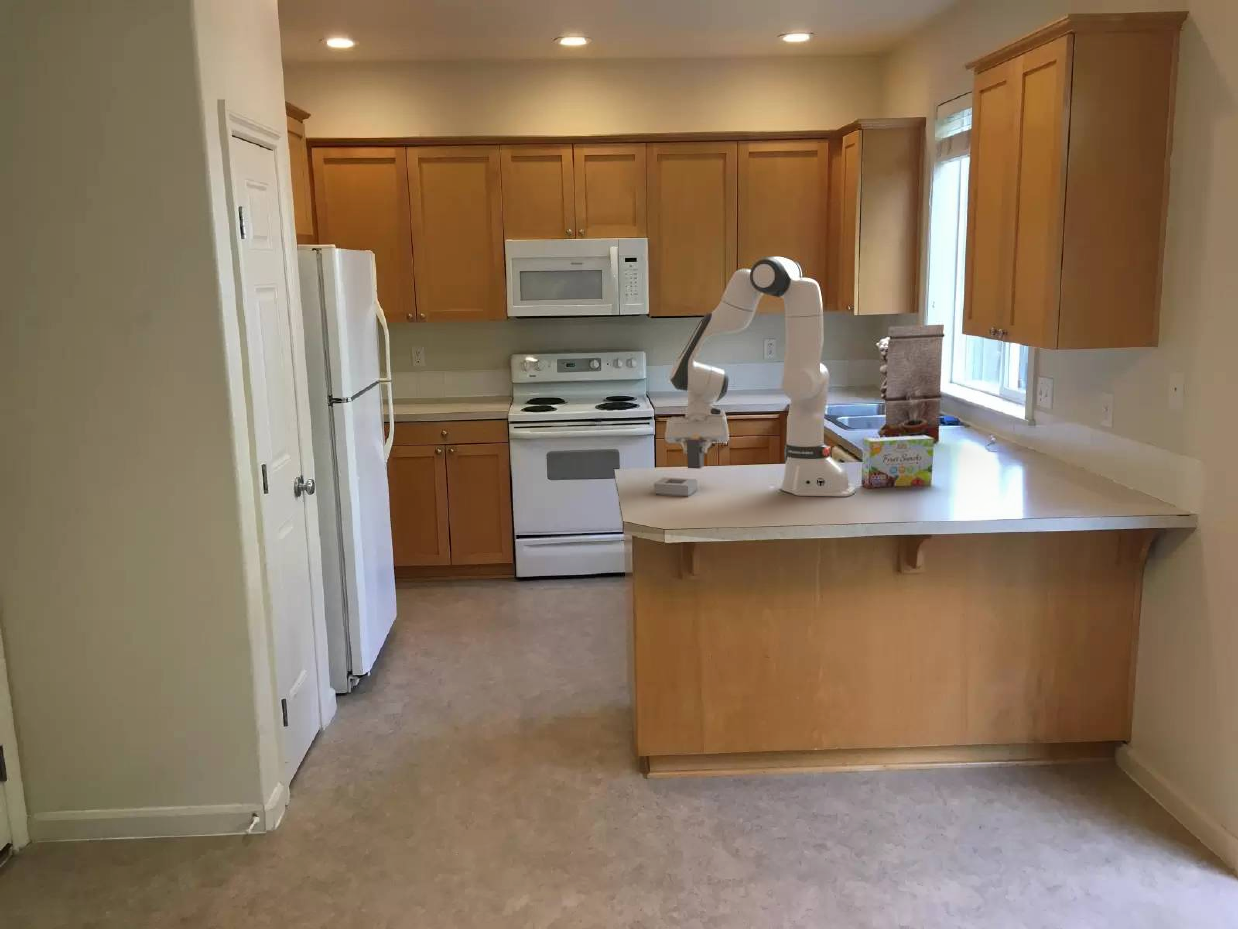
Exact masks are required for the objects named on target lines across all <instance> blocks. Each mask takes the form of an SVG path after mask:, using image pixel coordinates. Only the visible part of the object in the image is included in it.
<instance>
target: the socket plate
mask: <svg viewBox="0 0 1238 929" xmlns="http://www.w3.org/2000/svg"><path fill="white" fill-rule="evenodd" d="M697 491H698V479H696V478H693V479H692V478H679V477H661V478H660V479H659V480H657V481H655V482H654V483H653V495H654V494H661V495H660V496H667V495H669V497H681V496H687V497H686V498H689V497H690V496H692V495H693V494H695V493H697ZM688 496H689V497H688Z"/></svg>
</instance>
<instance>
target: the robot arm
mask: <svg viewBox="0 0 1238 929" xmlns="http://www.w3.org/2000/svg"><path fill="white" fill-rule="evenodd" d="M802 272H803V271H802V268H801V266H800V265H799V263H798V262H797V261H795V260H794V259H792V258H789V257H781V256H768V257H763V258H761V259H759V260H758V261H756V262H754V264H753V265H752V267H751V268H750V269H749V268H741V269H740V268H739V269H738V270H736V271H735V272H734V273H733V275H732V276H731V278H730V279H729V282H728V284H727V286H726V288H725V290H724V293H723V294H722V297H721V300H720V302H719V303H718V306H716V308H715V309H714V310H712V311H710V312H707V313H705V314H704V316H703V317H702V318H701V320H700V321H699V323H698V325H697V326H696V328H695V329H694V331H693V332H692V335H691V337H690V338H689V340H688V342H687V344H686V346H685V348H684V349H683V351H682V353H681V354H680V356H679V358H678V359H677V360H676V362H675V364H674V365H673V366H672V368H671V371H670V374H669V375H670V377H669V379H670V382H671V384H672V385H673V387H674V388H675V389H676V390H678V391H684V392H687V393H688V394H687V401H688V402H687V404H686V406H685V407H686V409H685V415H684V416H671V417H670V418H668V419H667V420H666V424H665V427H666V429H665V432H664V438H665V441H666V442H667V443H669V444H680V445H681V446H682V452H683V454H687V440H688V439H690V437H692V436H693V437H700V438H703V444H704V445H703V446H702V449H701V451H702V453H703V454H708V453H707V452H708V449H709V448H710V447H711V446H712V443H714V444H715V443H717V444H718V443H719V444H720V443H723V444H724V443H727V442H728V441H730V432H729V431H730V430H729V425H728V422H727V415H726V412H725V410H723V409H722V408H717V407H714V403H717V402H719V401H720V400H722V399H723V398H724V397H725V396H726V394H727V393H728V388H729V380H730V379H729V375H728V374H727V372H726V370H725V369H722V368H720V367H716V366H712V365H709V364H704V363H702V362H699V361H698V362H697V361H696V357H697V356H698V354H699V352H700V351H701V349H702V347H703V345H704V343H705V342H706V341H707V340H708V339H709V338H711V337H714V336H717V335H728V334H735V333H739V332H741V331H743V330H745V329H746V328H747V327H749V325H751V322H752V320H753V317H754V316H755V313H756V311H757V308H758V304H759V303H760V300H761V299H762V296H764V295H768V296H772V297H775V298H780V297H781V298H782V300H783V302H784V311H785V312H784V314H785V315H784V316H785V318H784V320H785V349H784V350H785V352H784V362H783V371H782V372H783V374H782V378H781V382H780V383H781V385H780V386H781V390H782V392H783V394H784V395H785V396H786V398H788V399H789V400H790V404H789V409H788V415H787V418H786V443H785V446H784V462H785V467H784V474H783V479H782V483H781V486H780V489H781V490H782V491H784V492H787V493H790V494H793V495H795V496H803V497H805V496H807V497H808V496H810V497H849V496H852V495H853V493H854V494H855V493H856V491H857V489H856V488H857V487H856V485H855V484H852V483H850V482H849V475H848V471H847V470H846V468H845V467H844V466H842V465H841V464H840V463H838V462H837V461H836V460H834V458H832V457H831V446H830V445H827V444H825V443H824V440H825V438H824V434H825V414H826V409H827V408H826V407H827V402H828V392H829V383H830V372H829V370H828V368H827V367H826V366H825V365H824V364H822V354H823V346H824V337H825V336H824V311H823V310H824V308H823V300H822V294H821V288H820V286H819V283H818V282H817V281H816V280H814V279H812V278H809V277H803V273H802Z"/></svg>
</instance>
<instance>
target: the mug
mask: <svg viewBox="0 0 1238 929" xmlns="http://www.w3.org/2000/svg"><path fill="white" fill-rule="evenodd" d="M926 423H927V421H926V420H924V419H910V420H906V421H904V422H903V423H901V424H900V427H899V426H891V425H886V426H885V429H886V430H889V431H890V434H891V437H896V436H895V433H894V430H899V431H900V433H901V434H899V437H904V436H923V435H924V434H925V426H926Z"/></svg>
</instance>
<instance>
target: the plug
mask: <svg viewBox="0 0 1238 929" xmlns="http://www.w3.org/2000/svg"><path fill="white" fill-rule="evenodd" d="M686 446H687V453H686V457H687V463H686V465H687V469H699V470H700V469H702V468H703V467H704V464H705V463H704V453H702V451H701V449H702V446H704V443H703V438H700V437H693V436H692V437H690V439H688V440H687V443H686Z"/></svg>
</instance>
